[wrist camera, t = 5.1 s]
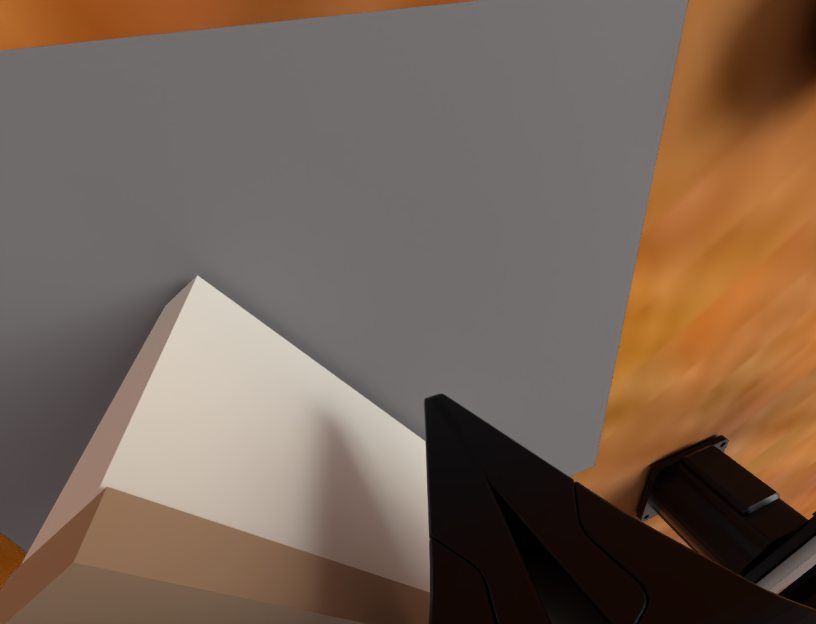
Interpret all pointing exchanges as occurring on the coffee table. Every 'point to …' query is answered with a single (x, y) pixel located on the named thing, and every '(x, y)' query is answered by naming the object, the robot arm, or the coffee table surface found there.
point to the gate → (232, 492)
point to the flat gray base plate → (333, 212)
